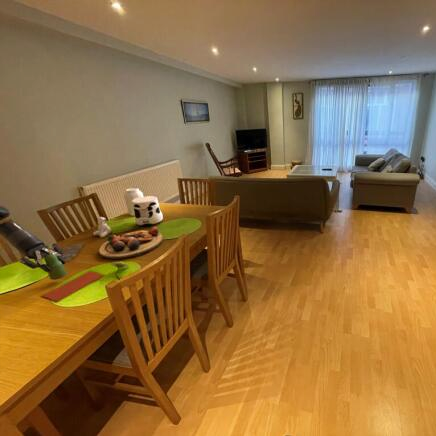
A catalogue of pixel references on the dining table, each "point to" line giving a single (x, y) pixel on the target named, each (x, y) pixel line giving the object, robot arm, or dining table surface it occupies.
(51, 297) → the cloth
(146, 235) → the wooden plate
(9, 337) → the dining table surface
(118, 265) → the decorative flower
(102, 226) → the seated beast figurine
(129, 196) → the white vase
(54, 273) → the pear
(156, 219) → the milk container
